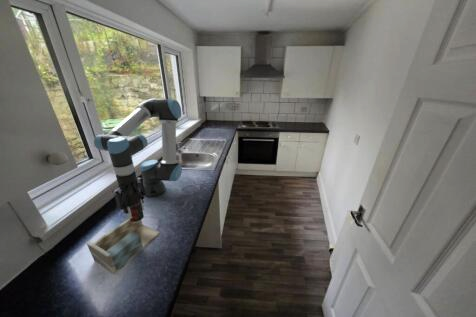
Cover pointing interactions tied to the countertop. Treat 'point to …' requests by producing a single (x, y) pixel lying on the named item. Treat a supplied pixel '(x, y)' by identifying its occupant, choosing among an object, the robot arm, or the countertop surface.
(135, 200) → the deodorant
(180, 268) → the countertop surface
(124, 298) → the countertop surface
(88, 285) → the countertop surface
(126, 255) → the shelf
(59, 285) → the countertop surface
